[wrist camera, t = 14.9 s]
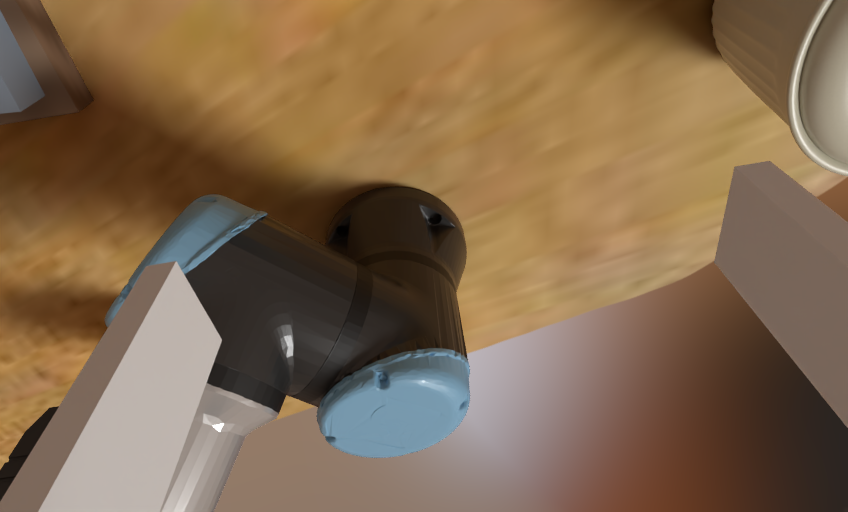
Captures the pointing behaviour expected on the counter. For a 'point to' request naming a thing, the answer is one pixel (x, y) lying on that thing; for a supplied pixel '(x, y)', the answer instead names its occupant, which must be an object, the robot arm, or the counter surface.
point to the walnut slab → (44, 63)
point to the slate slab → (15, 74)
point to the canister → (793, 67)
